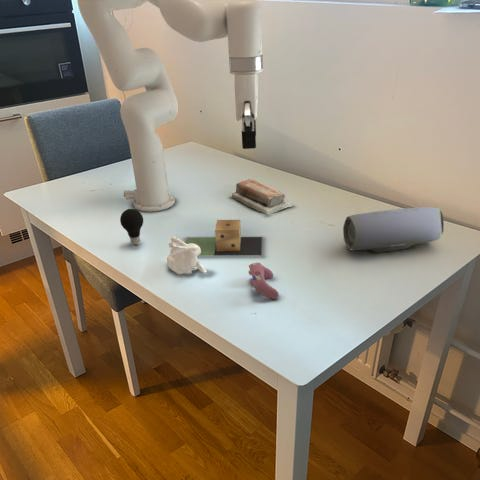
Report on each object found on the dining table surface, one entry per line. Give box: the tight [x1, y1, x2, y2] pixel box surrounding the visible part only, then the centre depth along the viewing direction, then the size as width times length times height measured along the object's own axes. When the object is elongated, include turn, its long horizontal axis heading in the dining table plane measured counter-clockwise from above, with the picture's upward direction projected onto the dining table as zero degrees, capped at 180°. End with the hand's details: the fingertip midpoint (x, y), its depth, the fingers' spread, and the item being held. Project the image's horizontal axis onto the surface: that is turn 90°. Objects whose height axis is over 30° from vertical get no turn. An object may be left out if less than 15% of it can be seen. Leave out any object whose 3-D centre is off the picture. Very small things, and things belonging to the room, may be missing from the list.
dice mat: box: [185, 236, 263, 257], centre depth 130 cm, size 20×10×1 cm, turn 87°
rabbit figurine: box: [166, 236, 208, 275], centre depth 118 cm, size 12×8×10 cm, turn 49°
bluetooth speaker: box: [342, 206, 445, 253], centre depth 125 cm, size 23×9×10 cm, turn 100°
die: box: [214, 219, 242, 251], centre depth 128 cm, size 6×6×6 cm
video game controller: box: [248, 261, 280, 300], centre depth 112 cm, size 10×5×7 cm, turn 5°
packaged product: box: [231, 178, 293, 215], centre depth 152 cm, size 18×5×10 cm
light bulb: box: [119, 208, 144, 246], centre depth 130 cm, size 6×6×10 cm
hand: (249, 142), depth 122 cm, fingers open, 9 cm apart
